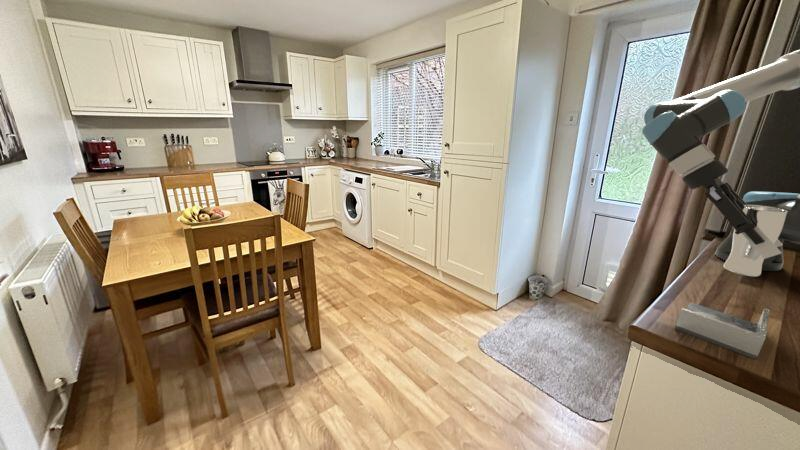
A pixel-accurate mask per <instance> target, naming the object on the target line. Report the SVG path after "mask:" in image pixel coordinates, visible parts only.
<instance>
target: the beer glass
mask: <svg viewBox="0 0 800 450" xmlns="http://www.w3.org/2000/svg"><path fill="white" fill-rule="evenodd" d="M742 210H743V212H744V213H745V214H746V215H747V217H748V218H749V219H750V220H751V221H752V223H753V224H755V227H757V226H758V227H759V229H760V230H761V231H762V232H763V233H764V234H765V235H766V236H767V237H768V238H769V239H770V240H771V242H772V243H773V244H774V243H775V242H776V240H777V239H778V237H779V235H780V233H781V231H782V229H783V226H784V222H785V219H786V215H787V212H788V211H786V210H783V209H779V208H775V207H769V206H761V205H744V206H743V208H742ZM735 232H736V230H735V228H734V233H733V242H732V250H731V253H730V255H729V257H728V259H727V260H726V261H724V264H723V266H722V267H723V268H724V269H726V270H727V271H730V272H732V273H735V274H738V275H741V276H748V277H759V276H761V275H762V271H763V270H762V263H763V260H764V258H763V257H762V255H761V254H760V253H759V252H758V251H757V250H756V249H755V248H754V246H753V245H752V244H751V243H750V242H749V241H748V240H747V239H746V238H745V236H744V235H743V234H742V233H740V234H738V235H737V234H736V233H735Z"/></svg>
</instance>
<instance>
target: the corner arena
mask: <svg viewBox="0 0 800 450" xmlns="http://www.w3.org/2000/svg"><path fill="white" fill-rule="evenodd" d="M770 312H771V309H768V308H763V311H762V313H761V315H760V317H759V320H758V322H757V323H755V322H752V321H749V320H747V319H742V318H740V317H737V316H733V315H731V314H729V313H725V312H722V311H719V310H716V309H713V308H709V307H707V306H703V305H701V304H697V303H694V302H689V303H688V305H687V307H686V308H684V307H681V309H680V313H679V315H678V317H677V321H676V324H675V326H674V329H676V330H678V331H681V332H682V333H685V334H689V335H690V336H694V337H695V338H699V339H701V340H703V341H704V340H705V341H707V342H710V343H711V344H714V345H717V346H719V347H722V348H724V349H727V350H730V351H732V352H735V353H738V354H740V355H743V356H746V357H747V358H750V359H753V360H757V358H758V356H759V354H760V351H761V349H762V348H763V345H764V343H765V340H766V339H767V332H768V326H769V320H770Z"/></svg>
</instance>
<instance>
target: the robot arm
mask: <svg viewBox="0 0 800 450" xmlns="http://www.w3.org/2000/svg"><path fill="white" fill-rule="evenodd" d="M799 88H800V48H799V49H797V50H794V51H792V52H789V53H786V54H783V55H782V56H780V57H778V58H777V59H776V60H774V62H772V63H770V64H767V65H764V66H762V67H759V68H756V69H754V70H751V71H749V72H746V73H743V74H740V75H737V76H735V77H732V78H729V79H727V80H724V81H721V82H718V83H716V84H713V85H711V86H708V87H705V88H702V89H700V90H697V91H693V92H692V93H690V94H689V93H688V94H686V95H682V96H681V97H678V98H675V99H672V100H668V101H666V100H665V101H660V102H656V103H654V104H652V105H650V106H649V107H648V108H647V109H646V111H645V113H644V116H643V119H644V120H643V121H644V124H645V125H644V127H643V128H642V130H641V132H642V135H643V137H644V138H645V139H646V141H647V142H648V143H649V145H650V146H651V147H653V149H654V150H655V151H656V152H658V154H659V155H660V156H661V158H662V159H663V160H664V161H665V162H666V163H667V164H668V165H669V166H670V167H669V171H670V172H673V171H674V172H675V173H676V174H677V176H679V177H681V176H683V177H682V178H681V179H682V182H684V184H685V185H687V187H688V189H690V190H692V191H693V190H696V189H699V188H700V187H703V189H704V190H705V191H706V192H705V197H706V198H707V199H708V200H709V201H711V202H712V204H713V205H714V206H715V207H716V208H717V210H719V212H720V213H721V214H722V215H723V217H724V218H725V219H726V220H727V221H728V223H730V225H731V230H730V232H729V234H728V235H727V237H725V239H724V240H722V242H721V243H720V244H719V245H718V246H717V248H716V250H715V252H714V256H715V255H716V256H715V257H716V258H718V257H719V258H718V259H720V258H721V259H720V260H722V259H723V260H722V261H724V260H725V261H724V262H726V260H727V259H728V257H729V255H730V253H731V250H732V242H733V233H734V228H735V230H736V232H735V233H736V234H737V235H738V234H740V233H742V234H743V235H744V236H745V238H746V239H747V240H748V241H749V242H750V243H751V244H752V245H753V246H754V248H755V249H756V250H757V251H758V252H759V253H760V254H761V255H762V257H763V258H764V260H763V263H762V270H761V271H765V272H766V271H767V272H779V271H781V270H782V269H783V265H784V249H783V245H784V242H785V241H789V242H791V243H794V244H798V245H800V193H794V192H793V193H792V192H781V191H780V192H777V191H776V192H775V191H756V190H755V191H748V192H747V193H745V194H744V195H743V198H741V196H740V195H739V194H738V193H737V192H736V190H734V189H733V187H732V185H731V184H730V183H729V182H723V181H722V180H721V179H720V177H721V176H723V175H724V176H725V174H727V173H728V172H729V170H728V168H727V167H726V166H725V165H724V164H723V163H722V161H720V159H714V158H715V157H716V155H715V153H714V152H712V151H711V150H710V148H708V147H707V145H706V144H705V143H704V142H702V140H701V138H703V137H706V136H707V135H708V134H712V132H714V131H716V130H718V129H720V128H721V127H724V126H725V125H729V124H730V123H731V122H733V121H734V120H736V119H737V118H739V117H740V116H742V115H743V114H744V113H745V111H746V110H747V103H748V102H750V101H754V100H756V99H759V98H762V97H764V96H765V97H766V96H767V95H768V96H769V95H770V94H773V93H776V92H779V91H792V90H796V89H799ZM744 205H761V206H769V207H775V208H779V209H783V210H786V211H788V212H787V215H786V219H785V222H784V226H783V229H782V231H781V233H780V235H779V237H778V239H777V240H776V242H775V243H774V244H773V243H772V242H771V240H770V239H769V238H768V237H767V236H766V235H765V234H764V233H763V232H762V231H761V230H760V229H759V227H758V226H757V227H755V224H753V223H752V221H751V220H750V219H749V218H748V217H747V215H746V214H745V213H744V212H743V210H742V208H743V206H744Z"/></svg>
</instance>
